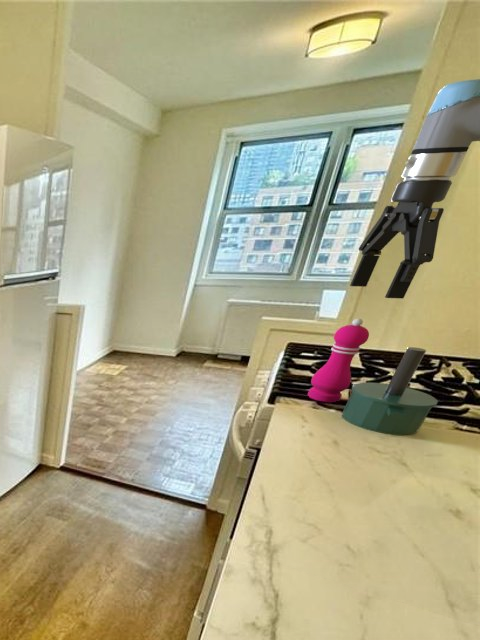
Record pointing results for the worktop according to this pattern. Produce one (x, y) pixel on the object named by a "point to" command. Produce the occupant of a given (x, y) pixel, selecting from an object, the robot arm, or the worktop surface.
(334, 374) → the pepper mill
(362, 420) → the pot
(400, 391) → the teal disc with rod
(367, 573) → the worktop surface
